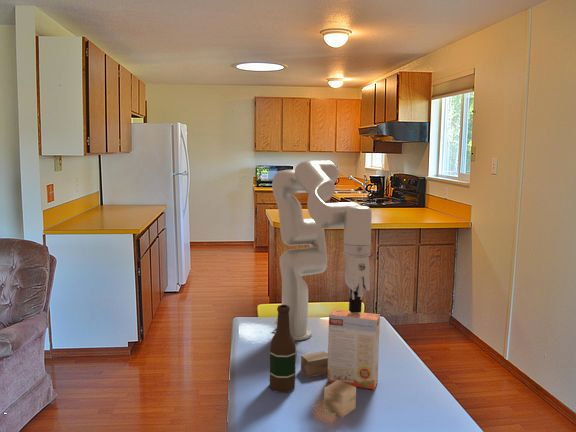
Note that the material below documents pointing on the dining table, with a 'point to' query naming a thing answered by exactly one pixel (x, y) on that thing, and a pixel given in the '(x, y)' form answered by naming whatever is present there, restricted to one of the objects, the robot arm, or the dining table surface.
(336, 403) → the maple block
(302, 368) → the walnut block
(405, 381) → the dining table surface
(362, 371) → the cracker box
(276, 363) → the beer bottle
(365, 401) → the dining table surface
